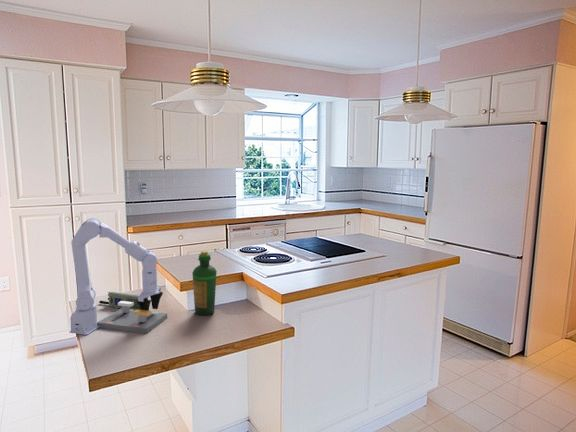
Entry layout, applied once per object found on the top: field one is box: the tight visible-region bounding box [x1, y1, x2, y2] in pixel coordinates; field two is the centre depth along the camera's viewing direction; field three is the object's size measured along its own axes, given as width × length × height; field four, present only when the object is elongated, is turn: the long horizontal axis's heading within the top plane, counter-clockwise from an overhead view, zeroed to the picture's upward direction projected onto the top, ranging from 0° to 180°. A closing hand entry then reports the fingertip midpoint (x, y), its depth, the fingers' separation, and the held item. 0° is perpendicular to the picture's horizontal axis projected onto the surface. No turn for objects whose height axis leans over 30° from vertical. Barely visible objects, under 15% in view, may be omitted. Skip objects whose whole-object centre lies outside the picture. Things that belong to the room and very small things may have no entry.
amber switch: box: [134, 309, 152, 322], centre depth 162 cm, size 2×6×4 cm, turn 78°
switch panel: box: [97, 308, 168, 334], centre depth 167 cm, size 16×22×2 cm
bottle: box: [192, 250, 218, 316], centre depth 177 cm, size 11×11×28 cm
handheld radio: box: [98, 291, 149, 310], centre depth 182 cm, size 7×3×25 cm
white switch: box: [118, 301, 134, 313], centre depth 171 cm, size 2×6×4 cm, turn 78°
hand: (150, 312), depth 168 cm, fingers open, 7 cm apart
